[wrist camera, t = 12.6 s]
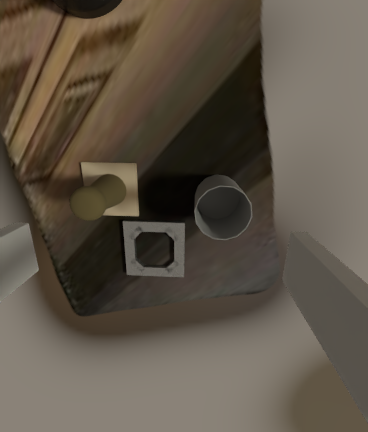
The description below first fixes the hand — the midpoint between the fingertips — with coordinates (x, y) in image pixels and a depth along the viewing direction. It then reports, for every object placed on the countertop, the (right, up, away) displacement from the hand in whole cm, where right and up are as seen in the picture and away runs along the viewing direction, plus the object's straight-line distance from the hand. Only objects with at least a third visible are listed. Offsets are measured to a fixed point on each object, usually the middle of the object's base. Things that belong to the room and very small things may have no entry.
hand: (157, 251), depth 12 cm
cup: (+8, +5, +32) cm, 33 cm away
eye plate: (-4, -5, +35) cm, 36 cm away
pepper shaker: (-12, +7, +31) cm, 34 cm away
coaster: (-12, +7, +32) cm, 35 cm away
